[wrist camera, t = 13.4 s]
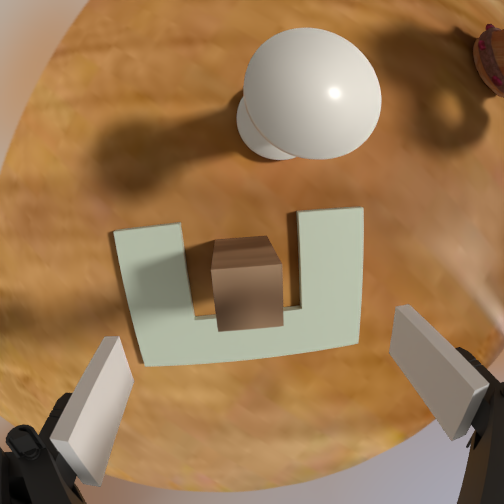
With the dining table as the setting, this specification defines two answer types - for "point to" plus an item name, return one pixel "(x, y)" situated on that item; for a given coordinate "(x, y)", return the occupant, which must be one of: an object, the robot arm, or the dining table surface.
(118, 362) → the robot arm
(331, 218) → the notched board
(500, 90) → the mug
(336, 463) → the dining table surface
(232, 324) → the block
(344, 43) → the knob
